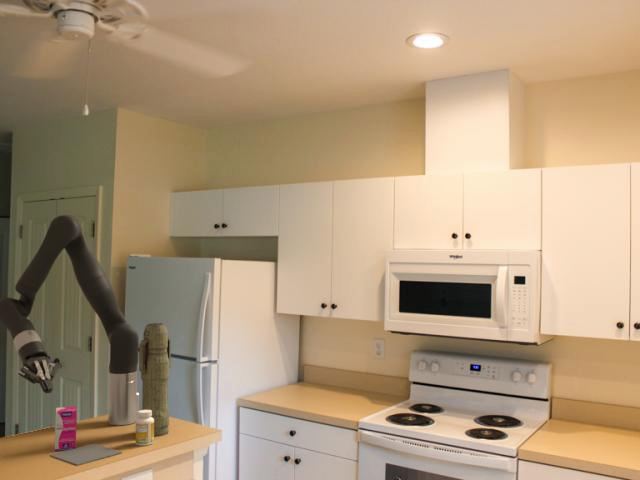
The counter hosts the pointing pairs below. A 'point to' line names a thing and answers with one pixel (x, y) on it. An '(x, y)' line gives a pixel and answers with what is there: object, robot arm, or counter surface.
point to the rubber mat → (85, 454)
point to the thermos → (155, 374)
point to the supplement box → (65, 428)
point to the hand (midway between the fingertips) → (49, 391)
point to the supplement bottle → (144, 428)
